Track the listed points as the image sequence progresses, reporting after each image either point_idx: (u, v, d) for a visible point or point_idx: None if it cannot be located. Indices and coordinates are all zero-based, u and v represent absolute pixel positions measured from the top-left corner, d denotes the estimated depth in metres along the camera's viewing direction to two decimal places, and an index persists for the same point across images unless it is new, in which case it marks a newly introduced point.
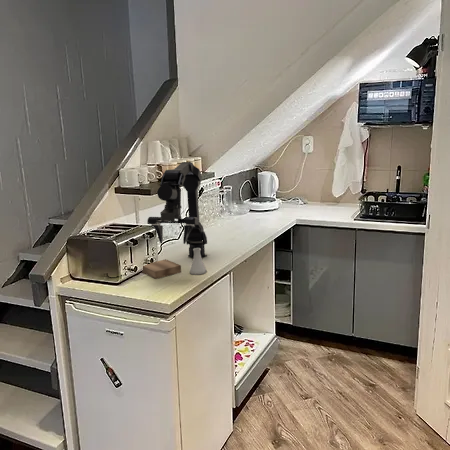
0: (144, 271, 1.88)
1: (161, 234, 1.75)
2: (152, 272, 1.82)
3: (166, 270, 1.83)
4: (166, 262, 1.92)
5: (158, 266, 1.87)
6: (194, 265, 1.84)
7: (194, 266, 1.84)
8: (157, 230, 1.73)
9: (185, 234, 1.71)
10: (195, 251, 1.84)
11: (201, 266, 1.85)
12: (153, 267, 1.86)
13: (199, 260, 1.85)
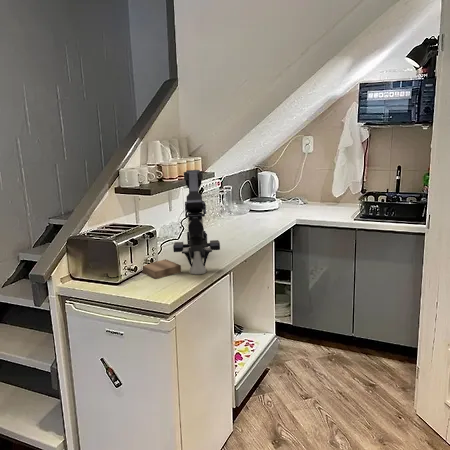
0: (144, 271, 1.88)
1: (190, 258, 1.86)
2: (152, 272, 1.82)
3: (166, 270, 1.83)
4: (166, 262, 1.92)
5: (158, 266, 1.87)
6: (194, 265, 1.84)
7: (194, 266, 1.84)
8: (188, 256, 1.84)
9: (205, 258, 1.85)
10: (195, 251, 1.84)
11: (201, 266, 1.85)
12: (153, 267, 1.86)
13: (199, 260, 1.85)
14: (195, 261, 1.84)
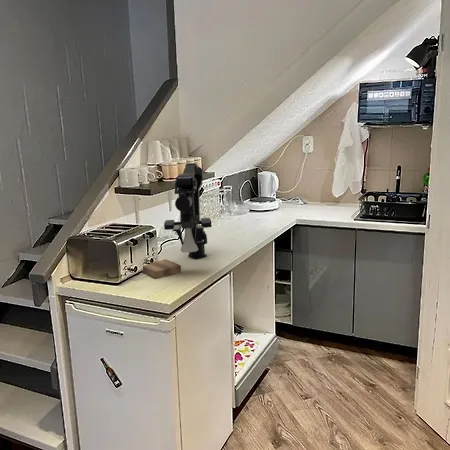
0: (144, 271, 1.88)
1: None
2: (152, 272, 1.82)
3: (166, 270, 1.83)
4: (166, 262, 1.92)
5: (158, 266, 1.87)
6: (185, 243, 1.83)
7: (185, 244, 1.83)
8: (179, 234, 1.82)
9: (197, 236, 1.83)
10: (186, 229, 1.82)
11: (192, 244, 1.83)
12: (153, 267, 1.86)
13: (190, 238, 1.83)
14: (186, 239, 1.83)
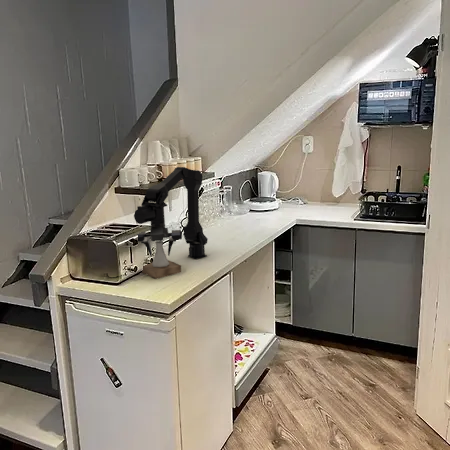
0: (144, 271, 1.88)
1: (150, 248, 1.87)
2: (152, 272, 1.82)
3: (166, 270, 1.83)
4: None
5: None
6: (156, 258, 1.86)
7: (156, 259, 1.86)
8: (147, 245, 1.85)
9: (169, 247, 1.86)
10: (157, 244, 1.85)
11: (163, 259, 1.86)
12: (153, 267, 1.86)
13: (161, 253, 1.86)
14: (157, 254, 1.86)
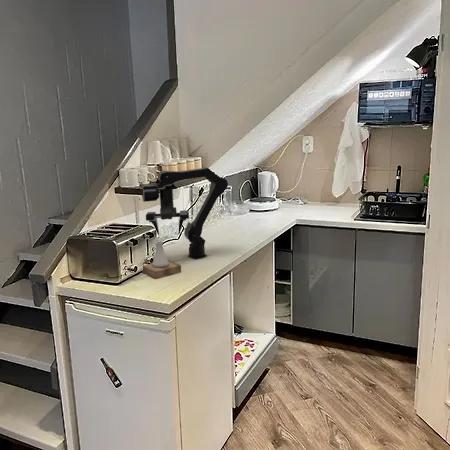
0: (144, 271, 1.88)
1: (157, 227, 2.02)
2: (152, 272, 1.82)
3: (166, 270, 1.83)
4: None
5: None
6: (156, 258, 1.86)
7: (156, 259, 1.86)
8: (155, 224, 2.00)
9: (180, 226, 2.01)
10: (157, 244, 1.85)
11: (163, 259, 1.86)
12: (153, 267, 1.86)
13: (161, 253, 1.86)
14: (157, 254, 1.86)
